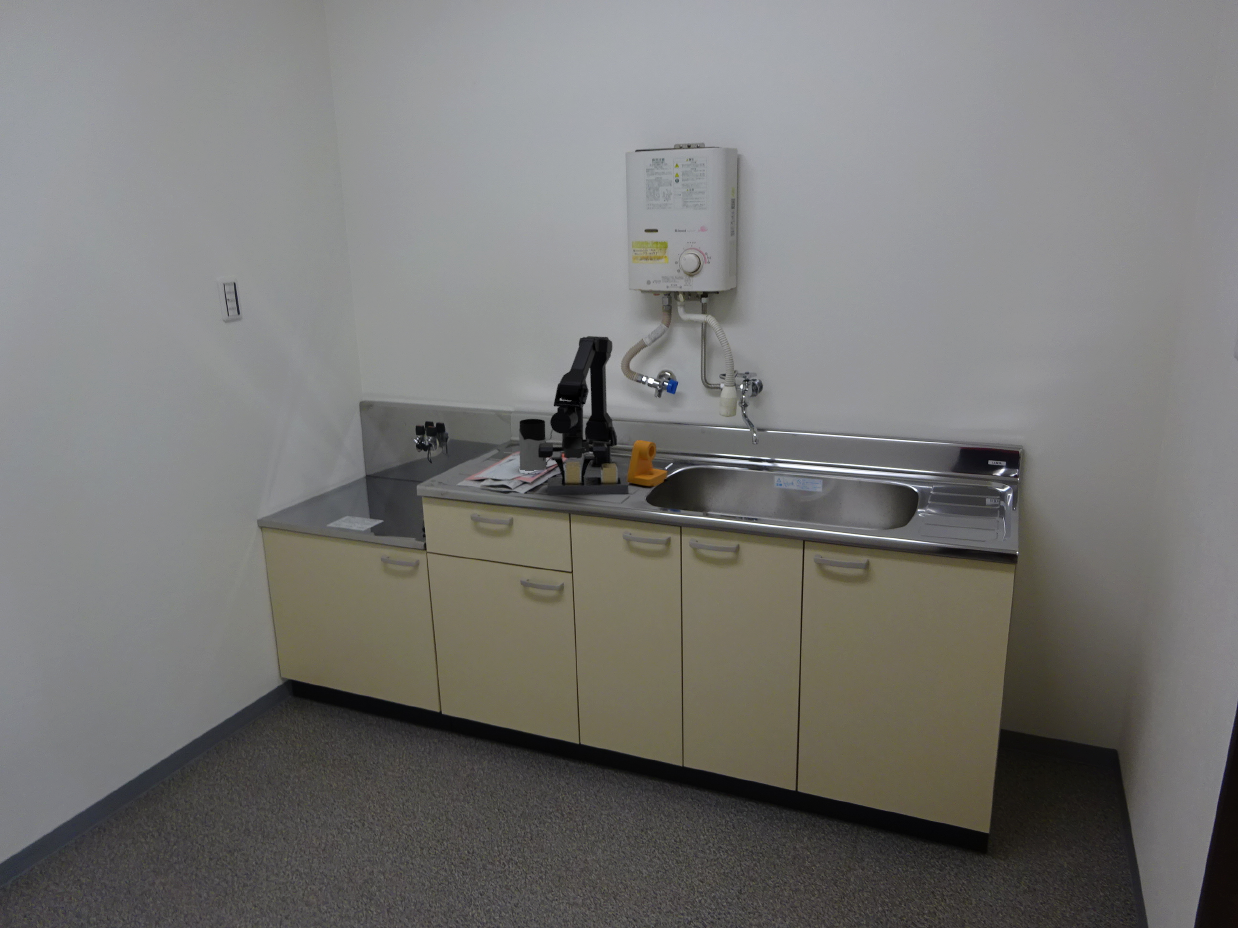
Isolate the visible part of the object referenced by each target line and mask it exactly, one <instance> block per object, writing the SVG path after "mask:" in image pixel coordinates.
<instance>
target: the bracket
mask: <svg viewBox="0 0 1238 928" xmlns="http://www.w3.org/2000/svg"><path fill="white" fill-rule="evenodd" d="M656 454H657V444H656V443H655V442H653V441H647V440H641V439H637V440H636V441H635V442H634V444H633V447H632V452H631V457H630V461H629V465H628V471H627V476H626V479H627V483H628V484H629V483H630V484H635V485H640V486H646V487H656V486H659V485H660V484H662V483H664V481H665V479H666V480H667V478H668V470H664V469H659V468H654V466H653V460H654V459H655V457H656Z"/></svg>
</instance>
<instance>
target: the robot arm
mask: <svg viewBox="0 0 1238 928" xmlns="http://www.w3.org/2000/svg"><path fill="white" fill-rule="evenodd" d="M612 352H613V341H612V340H611V339H609V336H597V335H596V336H593V335H592V336H591V335H588V336H582V337H580V338H579V340H578V348H577V351H576V354H575V357H574V359H573V362H572V364H571V367H570V370H569V371H568V372H566V373H565V374H563V375H562V377H561V379H560V381H559V382H558V384H557V387H556V392H555V395H554V396H555V398H554V401H553V407H557V409H556V410H557V411H556V412H555V413H554V414H553V415H551V418H550V420H549V421H550V422H549V424H550V426H551V430H552V429H553V432H555V433H557V434H560V435H561V434H562V437H561V438H562V439H561V446H554V443H552V442H546V443H541V444H540V445H539V448H538V457H539V458H546V459H549V458H551V459H550V460H551V461H555V463H556V464H557V467H558V469H559V472H560V475H561V478H563V481H565V464H564V459H563V457H564V458H565V459H571V458H572V459H574V458H575V459H582V463H581V480H583V478H584V477H585V475H586V472H587V469H588V466H589V464H590V467H601V466H602V464H613V461H612V456H611V455H612V450H611V449H612V448H613V447H615V446H618V435H617V433H616V430H615V427H614V426H613V419H612V417H611V416H610V414H609V413H608V412H607V411H608V410H607V409H608V408H607V407H608V406H607V374H606V370H607V369H606V365H607V364H608V362H609V360H610V358H611V356H612V355H611V354H612ZM588 374H590V375H589V376H590V377H589V378H590V379H589V380H590V383H589V384H590V389H589V387H588V384H587V376H588ZM589 390H590V410H591V414H590V416H589V418H588V419H587V421H586V423H585V429H584V405H586V403H587V399H588V396H589ZM584 436H585V439H584Z"/></svg>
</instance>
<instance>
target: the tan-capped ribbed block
mask: <svg viewBox="0 0 1238 928" xmlns="http://www.w3.org/2000/svg"><path fill="white" fill-rule="evenodd" d="M618 474H619V471H618V465H616V463H612V464H602V466H600V477H601V485H603V484H618V477H619V475H618Z"/></svg>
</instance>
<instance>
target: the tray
mask: <svg viewBox="0 0 1238 928" xmlns="http://www.w3.org/2000/svg"><path fill="white" fill-rule="evenodd" d="M546 490H547V495H548V496H549V495H550V496H552V495H553V496H556V495H557V496H559V495H561V496H562V495H563V496H564V495H567V496H568V495H569V496H570V495H571V496H572V495H574V496H575V495H576V496H577V495H628V494H629V482H627V476H618V484H603V485H601V476H594V477H589V476H587V477H586V476H584V478H583V480H581V485H565V481H563V478H562V477H547V489H546Z"/></svg>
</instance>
